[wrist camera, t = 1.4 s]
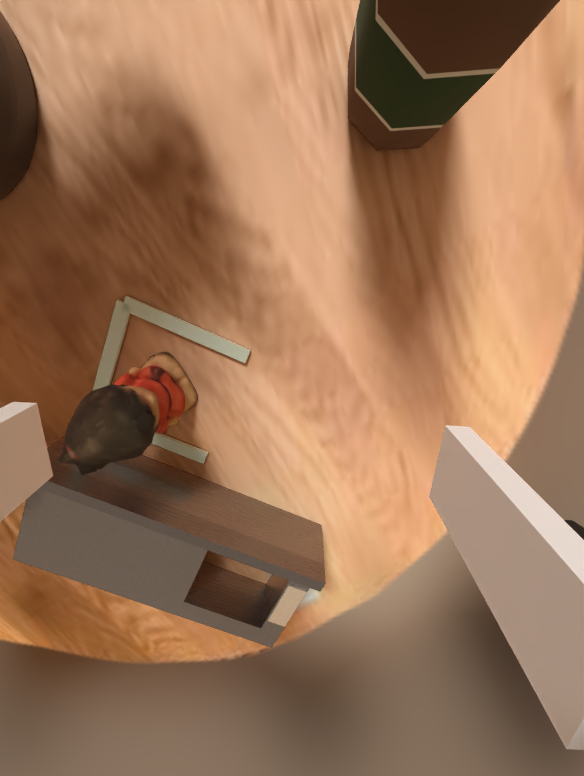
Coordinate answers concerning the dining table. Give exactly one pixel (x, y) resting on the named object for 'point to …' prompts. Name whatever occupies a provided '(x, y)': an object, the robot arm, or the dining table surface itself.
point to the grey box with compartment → (172, 543)
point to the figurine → (127, 414)
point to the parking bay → (173, 325)
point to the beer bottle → (428, 61)
